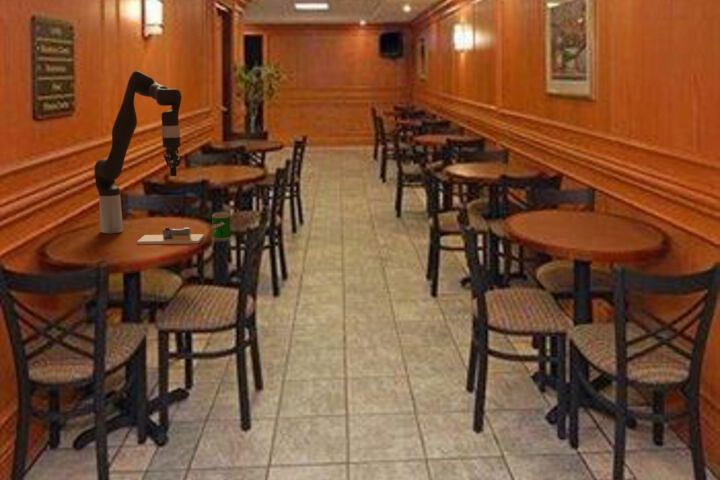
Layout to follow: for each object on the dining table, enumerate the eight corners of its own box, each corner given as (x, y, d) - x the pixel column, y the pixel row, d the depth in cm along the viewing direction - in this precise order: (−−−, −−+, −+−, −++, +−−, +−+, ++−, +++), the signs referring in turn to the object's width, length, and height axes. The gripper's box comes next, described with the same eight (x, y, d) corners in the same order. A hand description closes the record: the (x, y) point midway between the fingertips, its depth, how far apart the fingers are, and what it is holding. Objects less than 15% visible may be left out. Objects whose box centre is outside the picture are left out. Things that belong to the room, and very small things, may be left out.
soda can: (222, 237, 337) (221, 210, 334) (234, 239, 332) (233, 212, 330) (209, 240, 331) (208, 213, 328) (221, 242, 326) (219, 215, 324)
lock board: (137, 244, 325) (136, 237, 324) (145, 237, 338) (144, 230, 337) (198, 243, 325) (198, 236, 325) (204, 236, 338) (203, 230, 337)
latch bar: (161, 238, 328) (161, 228, 327) (164, 236, 332) (163, 227, 331) (188, 238, 327) (188, 228, 326) (191, 236, 331) (190, 226, 330)
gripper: (156, 135, 332) (158, 175, 336) (170, 137, 322) (172, 178, 326) (172, 134, 337) (174, 173, 340) (186, 136, 327) (188, 176, 330)
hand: (173, 176), depth 333 cm, fingers closed
